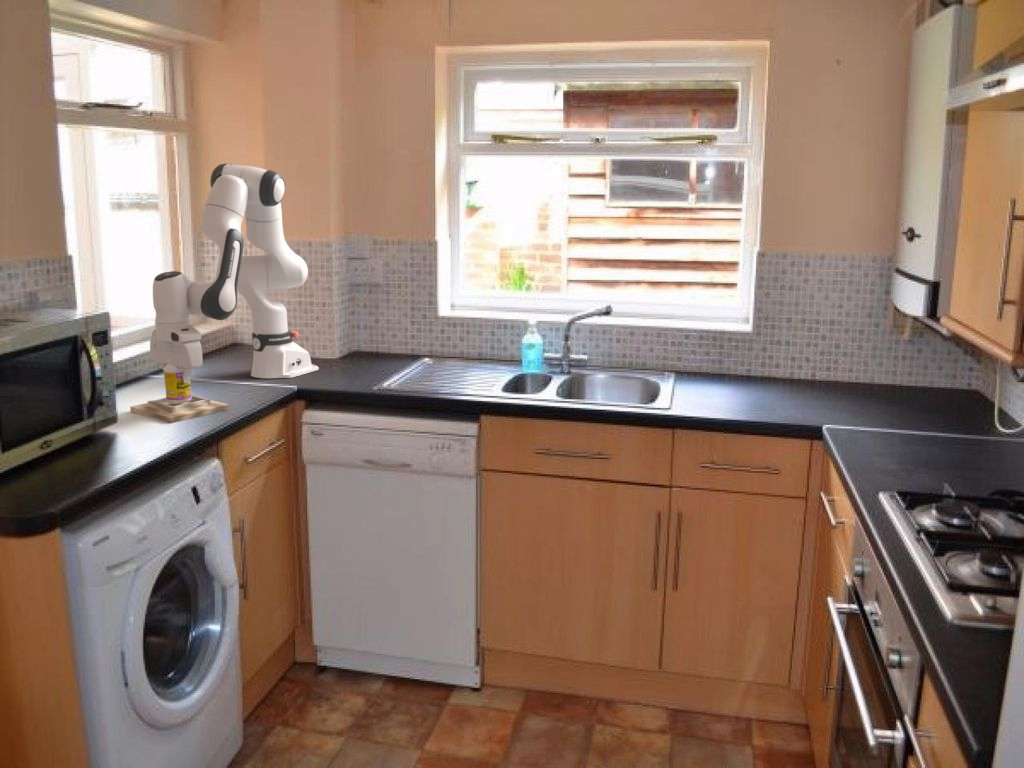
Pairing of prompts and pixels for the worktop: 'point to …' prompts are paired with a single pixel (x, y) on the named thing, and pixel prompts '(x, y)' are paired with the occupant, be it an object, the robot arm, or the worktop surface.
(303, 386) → the worktop surface
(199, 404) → the pocket board
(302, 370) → the robot arm
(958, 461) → the worktop surface
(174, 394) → the supplement bottle
